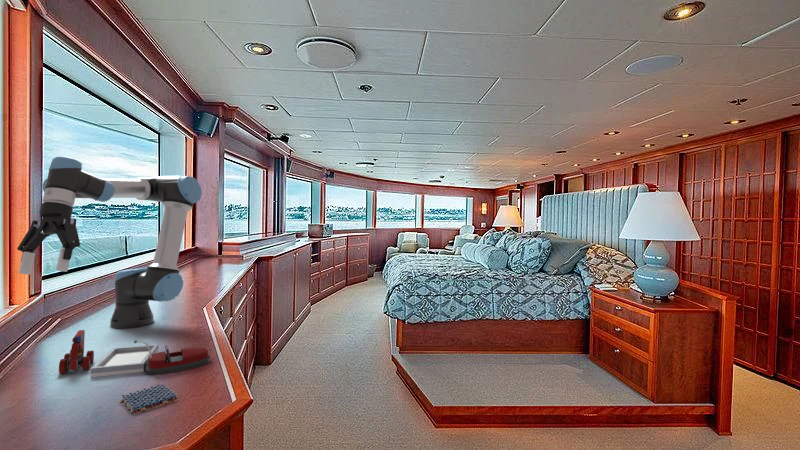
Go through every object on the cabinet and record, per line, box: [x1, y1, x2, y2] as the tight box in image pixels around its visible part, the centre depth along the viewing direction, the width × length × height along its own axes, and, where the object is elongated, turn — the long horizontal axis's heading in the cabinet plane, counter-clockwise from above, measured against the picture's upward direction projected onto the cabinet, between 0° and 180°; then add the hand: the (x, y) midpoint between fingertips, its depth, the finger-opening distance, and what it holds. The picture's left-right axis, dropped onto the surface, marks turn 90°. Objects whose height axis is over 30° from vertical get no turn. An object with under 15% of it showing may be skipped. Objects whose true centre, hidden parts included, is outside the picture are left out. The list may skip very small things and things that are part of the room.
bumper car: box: [133, 339, 211, 376], centre depth 121 cm, size 10×20×10 cm, turn 126°
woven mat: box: [119, 384, 180, 415], centre depth 99 cm, size 10×11×2 cm
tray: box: [90, 344, 160, 378], centre depth 123 cm, size 18×13×2 cm
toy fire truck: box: [58, 329, 95, 374], centre depth 119 cm, size 7×12×10 cm, turn 29°
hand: (42, 272), depth 117 cm, fingers open, 13 cm apart
